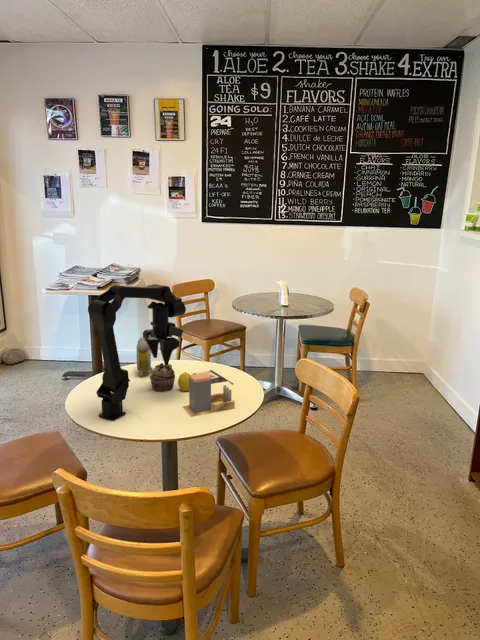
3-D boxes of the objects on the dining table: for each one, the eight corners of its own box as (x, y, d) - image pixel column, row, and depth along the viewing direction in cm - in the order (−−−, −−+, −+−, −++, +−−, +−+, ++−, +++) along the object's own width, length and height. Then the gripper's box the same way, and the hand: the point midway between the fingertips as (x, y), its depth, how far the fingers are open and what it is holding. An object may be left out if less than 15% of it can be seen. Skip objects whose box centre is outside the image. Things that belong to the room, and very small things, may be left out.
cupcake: (177, 384, 186) (177, 360, 183) (171, 393, 176) (171, 368, 174) (154, 383, 187) (153, 359, 184) (147, 392, 177) (146, 367, 175)
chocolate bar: (213, 387, 181) (192, 373, 196) (213, 390, 182) (192, 375, 196) (233, 383, 186) (211, 370, 201) (233, 385, 186) (211, 372, 201)
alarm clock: (138, 369, 202) (137, 335, 199) (154, 368, 203) (153, 335, 200) (137, 378, 191) (135, 343, 188) (154, 377, 192) (153, 342, 189)
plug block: (194, 413, 158) (194, 379, 155) (189, 407, 162) (189, 374, 159) (210, 410, 160) (211, 377, 157) (205, 404, 164) (205, 372, 162)
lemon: (179, 395, 175) (179, 375, 173) (177, 390, 180) (177, 370, 178) (194, 394, 176) (194, 374, 174) (191, 388, 181) (191, 369, 179)
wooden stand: (191, 419, 155) (190, 399, 154) (181, 409, 163) (181, 390, 161) (235, 410, 162) (235, 392, 161) (224, 401, 170) (224, 383, 168)
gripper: (192, 322, 166) (192, 364, 169) (168, 312, 180) (169, 351, 184) (164, 325, 159) (164, 369, 163) (141, 315, 174) (142, 355, 177)
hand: (160, 361), depth 172 cm, fingers open, 9 cm apart
